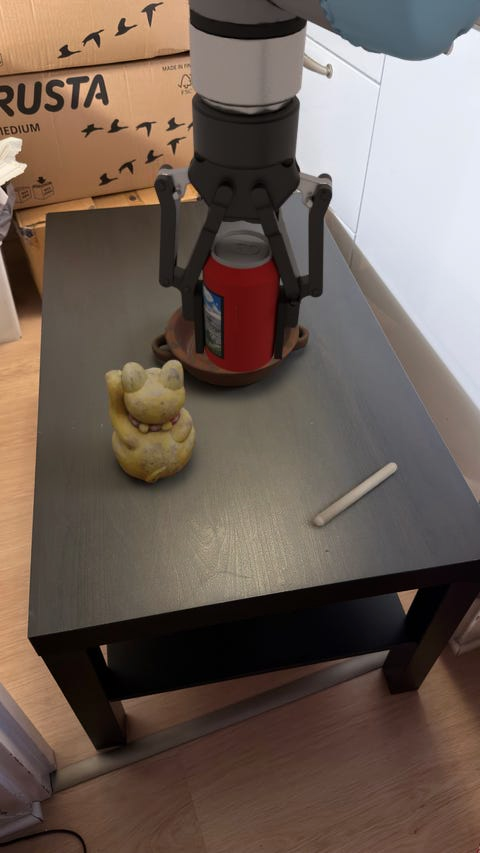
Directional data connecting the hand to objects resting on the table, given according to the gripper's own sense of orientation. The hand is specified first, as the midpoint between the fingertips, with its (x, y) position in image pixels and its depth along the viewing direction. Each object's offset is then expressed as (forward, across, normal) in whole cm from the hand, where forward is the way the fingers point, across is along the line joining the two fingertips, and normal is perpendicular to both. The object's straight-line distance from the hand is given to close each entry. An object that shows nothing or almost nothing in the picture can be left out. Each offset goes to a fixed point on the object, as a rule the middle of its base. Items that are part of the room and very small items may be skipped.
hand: (239, 346), depth 60 cm
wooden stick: (+19, -14, +2) cm, 24 cm away
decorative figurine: (+20, +10, 0) cm, 22 cm away
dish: (+20, +3, -20) cm, 28 cm away
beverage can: (+1, 0, 0) cm, 1 cm away
